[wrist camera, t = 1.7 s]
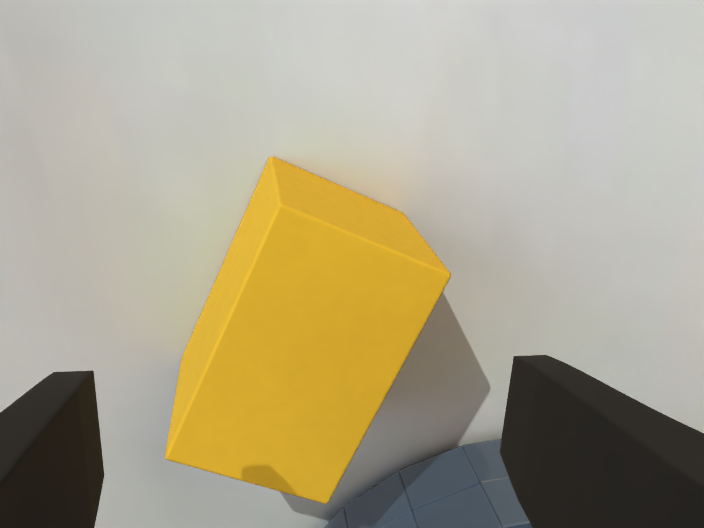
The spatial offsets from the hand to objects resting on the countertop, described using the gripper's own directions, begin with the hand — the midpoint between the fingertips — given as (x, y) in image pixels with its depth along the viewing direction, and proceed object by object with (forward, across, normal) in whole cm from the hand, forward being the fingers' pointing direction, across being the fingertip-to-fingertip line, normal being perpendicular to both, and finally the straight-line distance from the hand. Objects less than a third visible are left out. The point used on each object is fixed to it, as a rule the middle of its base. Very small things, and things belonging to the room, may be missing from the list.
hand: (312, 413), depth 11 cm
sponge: (+9, 0, +2) cm, 9 cm away
